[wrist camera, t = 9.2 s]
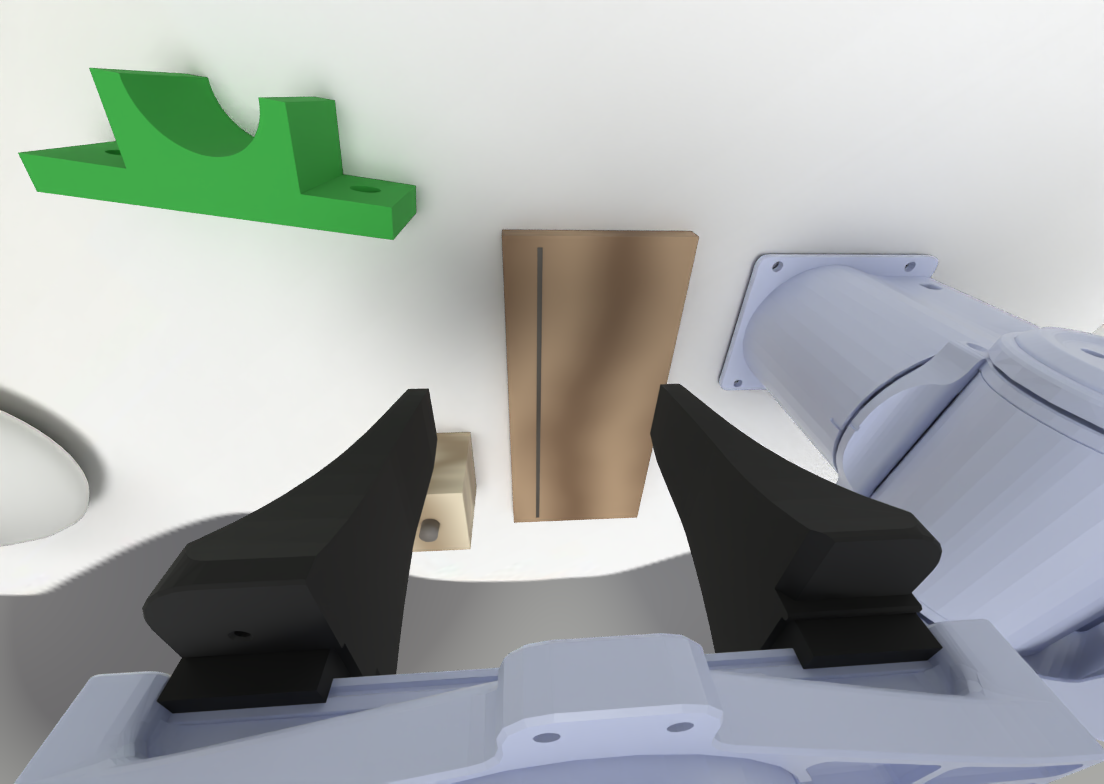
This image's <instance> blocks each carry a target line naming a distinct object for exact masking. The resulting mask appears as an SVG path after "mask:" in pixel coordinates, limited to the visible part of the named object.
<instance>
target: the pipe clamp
mask: <svg viewBox="0 0 1104 784" xmlns="http://www.w3.org/2000/svg"><path fill="white" fill-rule="evenodd" d="M89 69H90V72H91V74H92V77H93V80H94V82H95V85H96V88H97V90H98V93H99V96H100V99H101V101H102V104H103V107H104V109H105V112H106V115H107V117H108V120H109V123H110V126H111V128H112V131H113V134H114V136H115V139H116V141H113V142H105V143H96V144H88V145H80V146H71V147H63V148H54V149H46V150H37V151H29V152H20V153H18V154H19V156H20V158H21V160H22V162H23V164H24V166H25V168H26V170H27V172H28V174H29V176H30V178H31V180H32V182H33V184H34V186H35V188H36V190H37V192H44V193H52V194H59V195H66V196H74V197H81V198H88V199H96V200H103V201H111V202H118V203H125V204H133V205H140V206H147V207H155V208H162V209H169V210H177V211H184V212H191V213H199V214H206V215H213V216H221V217H228V218H236V219H243V220H250V221H258V222H265V223H272V224H280V225H287V226H294V227H302V228H309V229H316V230H324V231H331V232H339V233H346V234H353V235H361V236H368V237H375V238H383V239H390V240H394V239H395V237H396V236H397V235H398V234H399V233H400V231H401V230H402V229H403V228H404V227H405V226H406V224H407V223H408V222H409V221H410V220H411V218H412V217H413V216H414V215H415V214H416V186H415V185H409V184H402V183H396V182H389V181H383V180H376V179H370V178H363V177H357V176H351V175H344V174H343V169H342V160H341V151H340V142H339V133H338V125H337V116H336V107H335V100H330V99H324V98H318V97H261V98H259V105H260V120H259V126H258V129H257V132H256V135H255V137H253V136H251V135H250V134H248V133H246V132H245V131H244V130H242V129H241V128H240V127H239V126H237V125H236V124H235V123H234V122H233V121H232V120H231V119H230V118H229V117H228V115H227V114H226V113H225V112H224V110H223V109H222V108H221V106H220V105H219V103H218V101H217V99H216V98H215V96H214V94H213V92H212V89H211V86H210V84H209V80H208V78H207V77H201V76H196V75H190V74H182V73H166V72H150V71H133V70H117V69H101V68H89Z"/></svg>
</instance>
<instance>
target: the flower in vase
mask: <svg viewBox="0 0 1104 784" xmlns="http://www.w3.org/2000/svg"><path fill="white" fill-rule="evenodd" d="M88 504H89V485H88V481H87V479H86V476H85V474H84V472H83V471H82V469H81V468H80V466H79V465H78V464H77V462H76V461H75V460H74V459H73V458H72V456H71V455H69V454H68V453H67V452H66V451H65V450H64V449H63V448H62V447H61V446H60V445H58V444H57V443H56V442H55V441H53V440H52V439H51V438H49V437H48V436H46V435H45V434H43V433H42V432H40V431H39V430H37V429H36V428H34V427H32V426H31V425H29V424H27V423H26V422H24V421H22V420H20V419H18V418H16V417H14V416H12V415H10V414H8V413H6V412H4V411H1V410H0V546H8V545H14V544H19V543H24V542H29V541H34V540H38V539H43V538H46V537H49V536H52V535H54V534H56V533H58V532H60V531H62V530H64V529H66V528H68V527H70V526H72V525H73V524H75V523H77V522H78V521H79V520H80V519H81V518H82V517H83V516H84V514H85V513H86V511H87V508H88Z"/></svg>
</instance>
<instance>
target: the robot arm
mask: <svg viewBox="0 0 1104 784" xmlns="http://www.w3.org/2000/svg"><path fill="white" fill-rule="evenodd" d="M778 261H779V264H778V266H777V267H776V268H775V269H772V267H773V265H774V264H775V263H776V262H778ZM908 263H909V265H908V266H907V267H906V268H905V266H906V265H907V264H908ZM937 265H938V259H937V258H936V257H934V256H931V255H851V254H766V255H763V256H761V257H760V258H759V259H758V260H757V261H756V263H755V266H754V269H753V272H752V276H751V279H750V282H749V285H748V289H747V292H746V295H745V298H744V302H743V305H742V308H741V311H740V315H739V318H738V321H737V324H736V328H735V331H734V334H733V337H732V341H731V344H730V347H729V350H728V354H727V357H726V360H725V363H724V367H723V370H722V373H721V377H720V380H719V384H720V386H721V387H722V388H723V389H724V390H759V389H767V390H768V391H769V393H770V394H771V395H772V396H773V397H774V398H775V400H776V401H777V402H778V403H779V404H780V406H781V407H782V408H783V409H784V410H785V411H786V413H787V414H788V415H789V416H790V417H791V419H792V420H793V421H794V422H795V423H796V425H797V426H798V427H799V428H800V429H801V430H802V432H803V433H804V434H805V435H806V436H807V438H808V439H809V440H810V441H811V442H812V443H813V445H814V446H815V447H816V448H817V449H818V451H819V452H820V453H821V454H822V455H823V456H824V458H825V459H826V460H827V461H828V462H829V464H830V465H831V466H832V467H833V468H834V469H835V471H836V472H837V473H838V474H839V477H838V481H837V484H834V483H832V482H830V481H828V480H825V479H823V478H821V477H819V476H817V475H815V474H813V473H811V472H809V471H807V470H805V469H803V468H801V467H799V466H797V465H795V464H793V463H791V462H789V461H787V460H786V459H784V458H782V457H780V456H779V455H777V454H775V453H774V452H772V451H770V450H769V449H767V448H765V447H764V446H762V445H760V444H759V443H757V442H756V441H754V440H753V439H751V438H750V437H748V436H747V435H746V434H744V433H743V432H741V431H740V430H738V429H737V428H736V427H734V426H733V425H731V424H730V423H729V422H727V421H726V420H725V419H723V418H722V417H721V416H720V415H718V414H717V413H716V412H714V411H713V410H712V409H711V408H709V407H708V406H707V405H706V404H704V403H703V402H702V401H701V400H699V399H698V398H697V397H696V396H694V395H693V394H692V393H691V392H689V391H688V390H687V389H686V388H684V387H683V386H682V385H680V384H660V389H659V393H658V398H657V403H656V408H655V412H654V417H653V422H652V427H651V431H650V436H651V440H652V444H653V448H654V452H655V456H656V460H657V463H658V465H659V468H660V470H661V473H662V475H663V478H664V480H665V483H666V485H667V487H668V490H669V492H670V495H671V497H672V500H673V502H674V504H675V507H676V509H677V512H678V514H679V517H680V519H681V522H682V525H683V527H684V530H685V533H686V536H687V540H688V543H689V547H690V550H691V554H692V557H693V561H694V565H695V568H696V572H697V576H698V579H699V583H700V587H701V591H702V595H703V600H704V604H705V608H706V612H707V617H708V621H709V625H710V630H711V635H712V639H713V644H714V649H715V653H712V654H704V652H703V649H702V646H701V645H700V644H698V643H696V642H695V641H693V640H691V639H689V638H687V637H685V636H683V635H678V634H663V633H658V634H641V635H624V636H610V637H609V636H608V637H594V638H593V637H592V638H576V639H561V640H547V641H543V642H537V643H531V644H526V645H524V646H522V647H520V648H518V649H516V650H515V651H513V652H511V653H509V654H508V655H507V656H506V657H505V658H504V660H503V662H502V664H501V666H500V668H486V669H471V670H457V671H441V672H426V673H411V674H396V669H397V661H398V651H399V643H400V634H401V627H402V619H403V610H404V604H405V596H406V590H407V583H408V576H409V570H410V564H411V558H412V551H413V545H414V541H415V536H416V532H417V528H418V524H419V521H420V517H421V513H422V510H423V506H424V502H425V499H426V495H427V492H428V488H429V484H430V480H431V477H432V473H433V469H434V463H435V456H436V448H437V440H438V439H437V433H436V428H435V422H434V416H433V411H432V405H431V399H430V393H429V389H408V390H407V391H406V392H405V393H404V394H403V395H402V396H401V397H400V398H399V399H398V400H397V401H396V402H395V403H394V404H393V405H392V406H391V408H390V409H389V410H388V411H387V412H386V413H385V414H384V415H383V416H382V417H381V418H380V419H379V420H378V421H377V422H376V423H375V424H374V425H373V426H372V427H371V428H370V429H369V430H368V431H367V432H366V433H365V434H364V435H363V436H362V437H361V438H359V439H358V440H357V441H356V442H355V443H354V444H353V445H352V446H351V447H350V448H348V449H347V450H346V451H345V452H344V453H342V454H341V455H340V456H339V457H338V458H336V459H335V460H334V461H332V462H331V463H330V464H328V465H327V466H326V467H324V468H323V469H322V470H320V471H319V472H318V473H316V474H315V475H313V476H312V477H310V478H309V479H307V480H306V481H304V482H303V483H301V484H300V485H298V486H297V487H295V488H294V489H292V490H290V491H289V492H287V493H286V494H284V495H283V496H281V497H279V498H278V499H276V500H274V501H272V502H271V503H269V504H267V505H265V506H264V507H262V508H260V509H258V510H256V511H254V512H253V513H251V514H249V515H247V516H245V517H243V518H241V519H239V520H238V521H235V522H234V523H232V524H229V525H227V526H225V527H223V528H221V529H219V530H217V531H214V532H212V533H210V534H208V535H206V536H204V537H202V538H200V539H198V540H195V541H193V542H191V543H188V544H187V545H186V547H185V548H184V549H183V550H182V552H181V553H180V554H179V556H178V557H177V559H176V560H175V561H174V563H173V564H172V565H171V567H170V568H169V569H168V571H167V572H166V574H165V575H164V576H163V578H162V579H161V581H160V582H159V583H158V585H157V586H156V587H155V589H154V590H153V591H152V593H151V594H150V596H149V597H148V598H147V600H146V602H145V604H144V606H143V608H142V609H143V614H144V619H145V621H146V622H147V624H148V625H149V626H150V627H151V629H152V630H153V631H154V632H155V633H156V634H157V635H158V636H159V637H160V638H161V639H163V640H164V641H165V642H166V643H167V644H168V645H169V646H170V647H171V648H172V649H173V650H174V651H175V652H176V653H178V654H179V655H180V656H181V657H182V659H181V660H180V662H179V664H178V665H177V667H176V669H175V671H174V672H173V674H172V676H171V675H169V674H167V673H162V672H154V671H153V672H152V671H146V672H130V673H115V674H99V675H96V676H93V677H91V678H90V679H89V681H88V682H87V683H86V685H85V686H84V687H83V689H82V690H81V692H80V693H79V694H78V696H77V697H76V699H75V700H74V701H73V703H72V704H71V705H70V707H69V708H68V709H67V711H66V712H65V714H64V715H63V716H62V718H61V719H60V720H59V722H58V723H57V725H56V726H55V727H54V729H53V730H52V732H51V733H50V734H49V736H48V737H47V739H46V740H45V741H44V743H43V744H42V745H41V747H40V748H39V749H38V751H37V752H36V754H35V755H34V756H33V758H32V759H31V760H30V762H29V763H28V765H27V766H26V767H25V769H24V770H23V771H22V773H21V774H20V776H19V777H18V778H17V780H16V781H15V782H14V784H1047V783H1050V782H1052V781H1055V780H1057V779H1060V778H1062V777H1065V776H1067V775H1070V774H1073V773H1075V772H1078V771H1080V770H1083V769H1085V768H1088V767H1091V766H1093V765H1095V764H1098V763H1101V762H1103V761H1104V749H1103V747H1102V746H1101V745H1100V744H1099V743H1098V742H1097V741H1096V740H1100V741H1103V742H1104V337H1103V336H1099V335H1095V334H1091V333H1086V332H1081V331H1076V330H1071V329H1065V328H1056V327H1044V328H1039V327H1038V326H1036V325H1034V324H1032V323H1030V322H1028V321H1026V320H1023V319H1021V318H1019V317H1017V316H1014V315H1012V314H1010V313H1008V312H1005V311H1003V310H1001V309H999V308H996V307H994V306H992V305H990V304H988V303H985V302H983V301H981V300H979V299H976V298H974V297H972V296H970V295H967V294H965V293H963V292H961V291H958V290H956V289H954V288H952V287H949V286H947V285H945V284H943V283H941V282H938V281H936V280H934V279H932V278H931V276H932V274H933V273H934V271H935V269H936V267H937ZM737 380H739V381H738V382H737V383H734V382H735V381H737ZM1095 739H1096V740H1095Z"/></svg>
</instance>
